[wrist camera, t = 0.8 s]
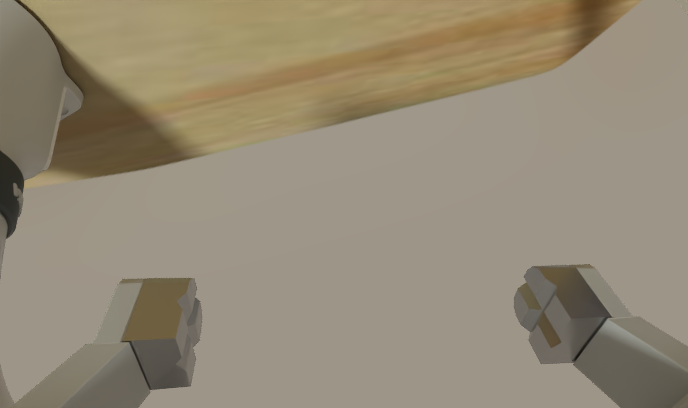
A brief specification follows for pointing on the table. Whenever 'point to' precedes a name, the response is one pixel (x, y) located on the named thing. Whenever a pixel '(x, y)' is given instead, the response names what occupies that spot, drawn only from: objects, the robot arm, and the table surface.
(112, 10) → the table surface
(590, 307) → the robot arm
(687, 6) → the fader tab
